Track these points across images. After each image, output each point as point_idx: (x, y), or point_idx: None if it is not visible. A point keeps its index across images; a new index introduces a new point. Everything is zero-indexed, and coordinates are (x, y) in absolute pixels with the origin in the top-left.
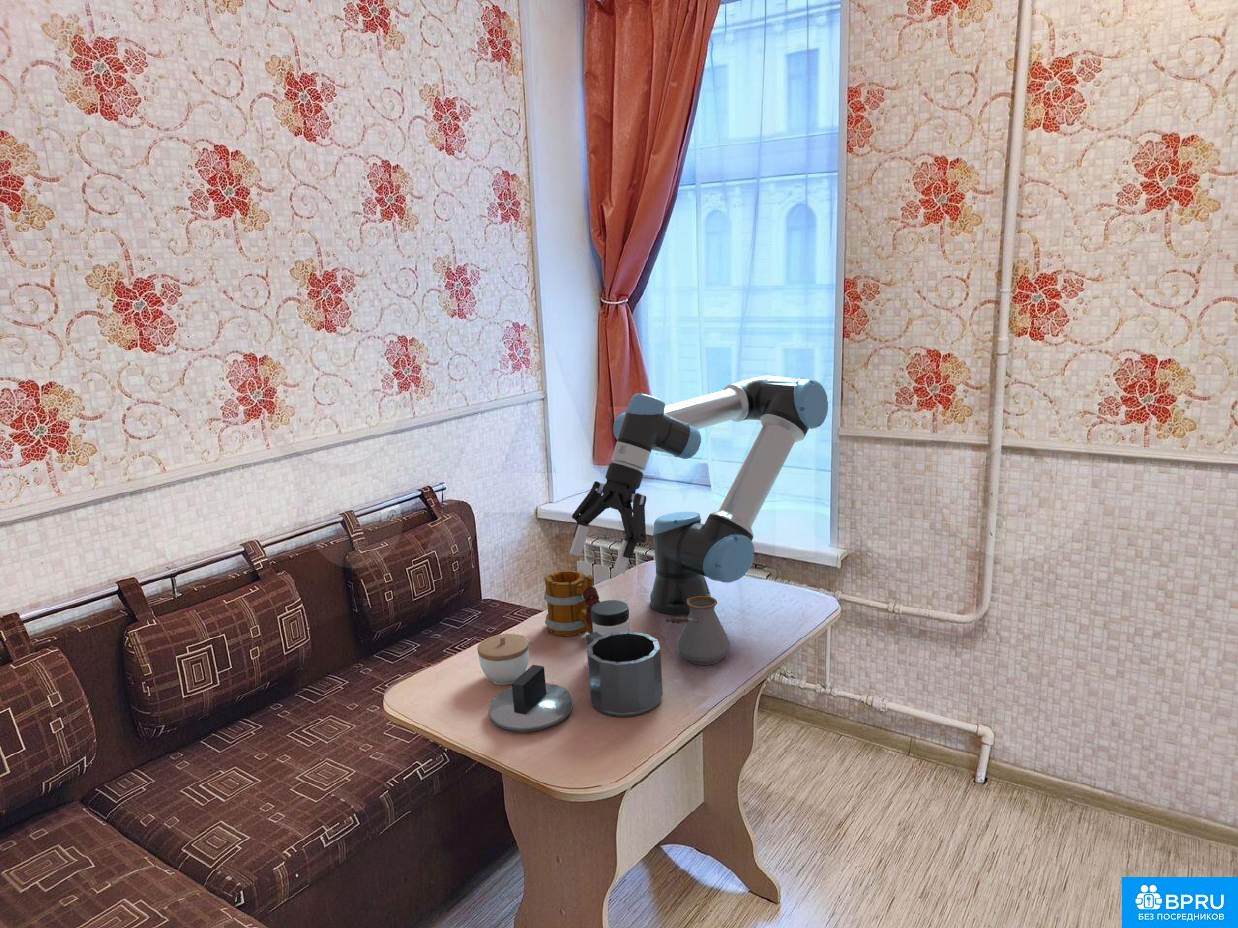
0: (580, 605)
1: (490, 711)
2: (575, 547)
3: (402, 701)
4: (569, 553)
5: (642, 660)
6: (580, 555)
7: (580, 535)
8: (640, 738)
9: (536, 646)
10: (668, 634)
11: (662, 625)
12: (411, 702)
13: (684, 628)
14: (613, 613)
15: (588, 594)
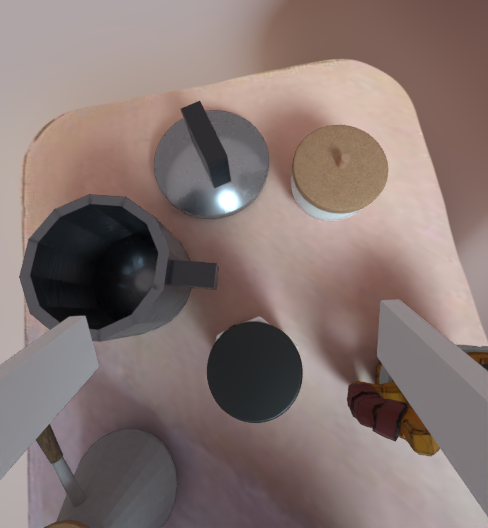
0: None
1: (233, 114)
2: (399, 331)
3: (364, 73)
4: (397, 299)
5: (26, 252)
6: (378, 358)
7: (450, 395)
8: None
9: (386, 287)
10: (250, 498)
11: None
12: (353, 79)
13: (130, 475)
14: (217, 351)
15: (387, 407)
